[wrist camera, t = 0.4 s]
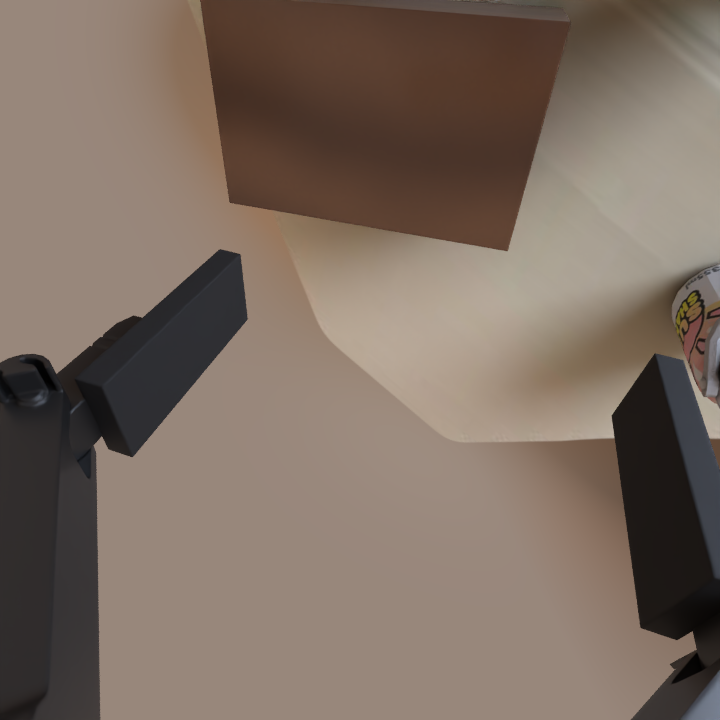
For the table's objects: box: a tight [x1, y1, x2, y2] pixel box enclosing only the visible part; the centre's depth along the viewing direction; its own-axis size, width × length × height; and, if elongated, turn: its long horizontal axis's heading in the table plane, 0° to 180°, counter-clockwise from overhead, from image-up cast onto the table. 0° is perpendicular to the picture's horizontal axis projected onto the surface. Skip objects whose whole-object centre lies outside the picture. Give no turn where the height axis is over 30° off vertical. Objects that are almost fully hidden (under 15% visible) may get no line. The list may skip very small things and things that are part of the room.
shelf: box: [200, 0, 571, 251], centre depth 32 cm, size 12×20×12 cm, turn 87°
